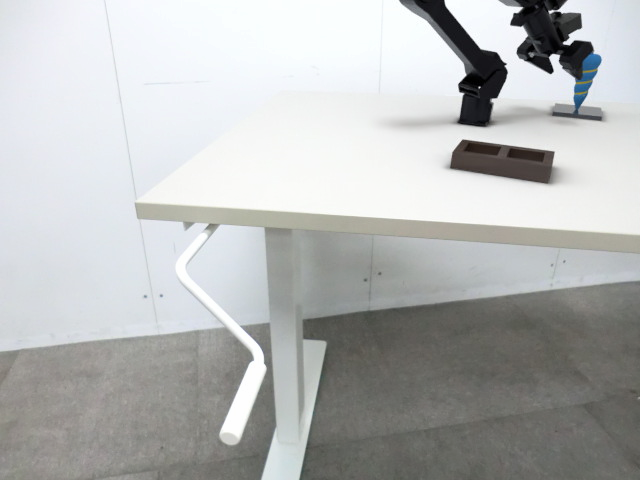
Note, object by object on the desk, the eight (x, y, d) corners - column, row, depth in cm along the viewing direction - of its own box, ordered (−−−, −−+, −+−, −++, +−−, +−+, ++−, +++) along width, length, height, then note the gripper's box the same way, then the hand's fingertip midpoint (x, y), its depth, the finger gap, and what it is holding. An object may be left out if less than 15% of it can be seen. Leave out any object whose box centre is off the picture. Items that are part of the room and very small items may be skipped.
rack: (548, 183, 79) (552, 166, 78) (449, 168, 85) (452, 151, 84) (550, 167, 86) (554, 151, 85) (460, 154, 92) (462, 139, 91)
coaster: (552, 115, 121) (553, 111, 121) (554, 106, 130) (555, 103, 130) (601, 120, 117) (602, 116, 117) (600, 111, 126) (601, 107, 125)
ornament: (585, 107, 125) (601, 45, 118) (590, 112, 120) (608, 48, 113) (563, 106, 126) (578, 45, 119) (568, 111, 121) (584, 47, 114)
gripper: (600, 0, 100) (623, 55, 109) (536, -3, 116) (561, 46, 124) (560, 41, 101) (586, 92, 110) (503, 33, 117) (530, 79, 125)
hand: (565, 75), depth 117 cm, fingers open, 9 cm apart
